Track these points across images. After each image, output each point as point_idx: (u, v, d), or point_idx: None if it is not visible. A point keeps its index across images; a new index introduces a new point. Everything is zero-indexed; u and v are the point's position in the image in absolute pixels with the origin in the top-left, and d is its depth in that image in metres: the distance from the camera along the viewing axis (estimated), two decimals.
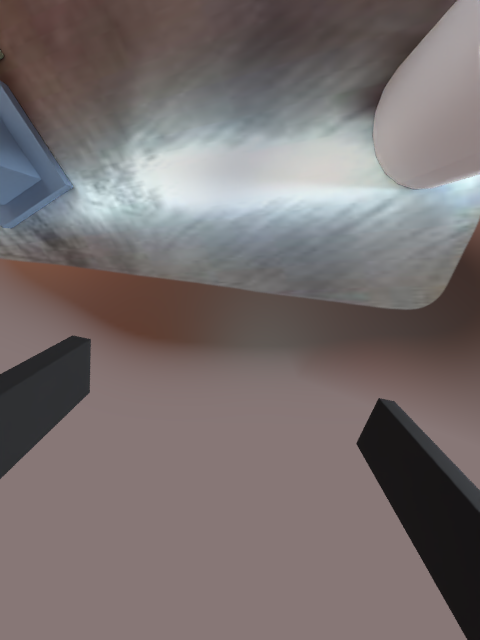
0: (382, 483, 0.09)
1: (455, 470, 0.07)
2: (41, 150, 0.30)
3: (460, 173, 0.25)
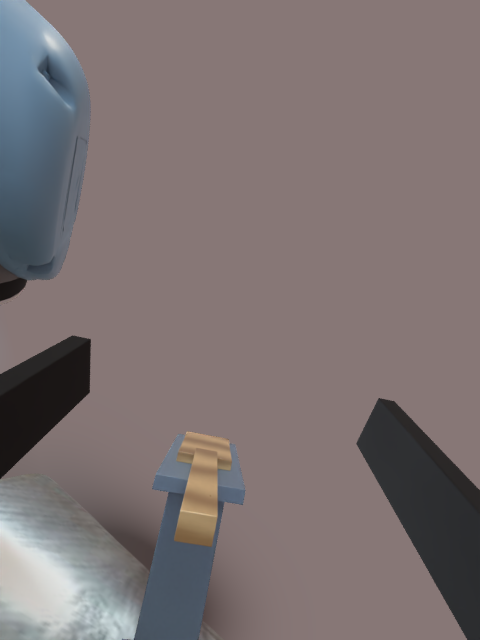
0: (382, 483, 0.09)
1: (455, 471, 0.07)
2: None
3: None
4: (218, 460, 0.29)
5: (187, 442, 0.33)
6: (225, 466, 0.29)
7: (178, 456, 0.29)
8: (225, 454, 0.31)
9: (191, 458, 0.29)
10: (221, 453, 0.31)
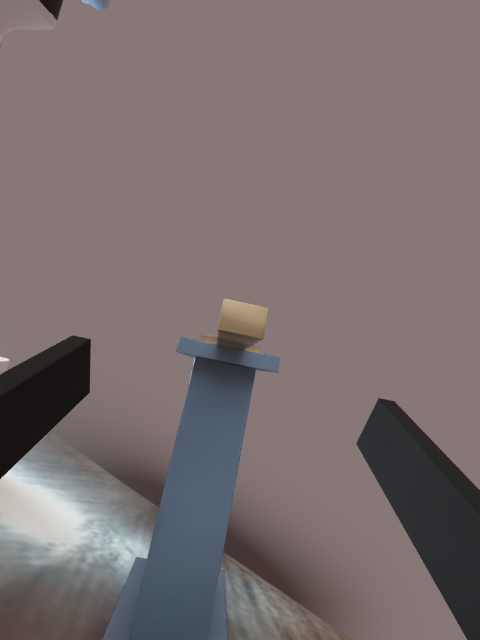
0: (383, 483, 0.09)
1: (455, 470, 0.07)
2: (124, 590, 0.26)
3: None
4: None
5: None
6: (252, 350, 0.27)
7: (201, 338, 0.26)
8: None
9: (215, 341, 0.26)
10: None
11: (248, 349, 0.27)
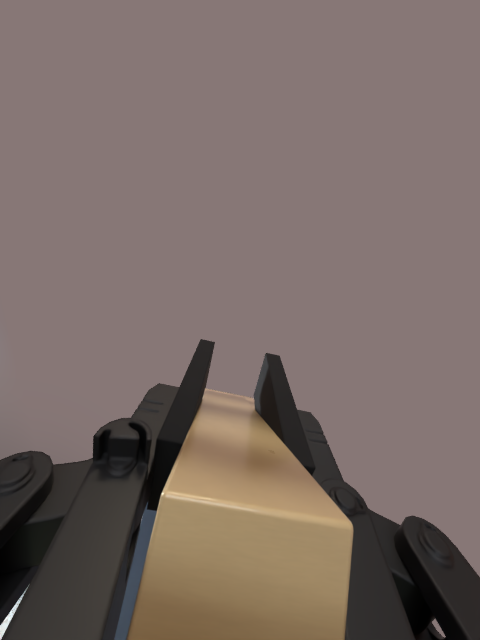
0: None
1: (286, 394, 0.09)
2: None
3: None
4: None
5: None
6: None
7: None
8: None
9: None
10: None
11: None
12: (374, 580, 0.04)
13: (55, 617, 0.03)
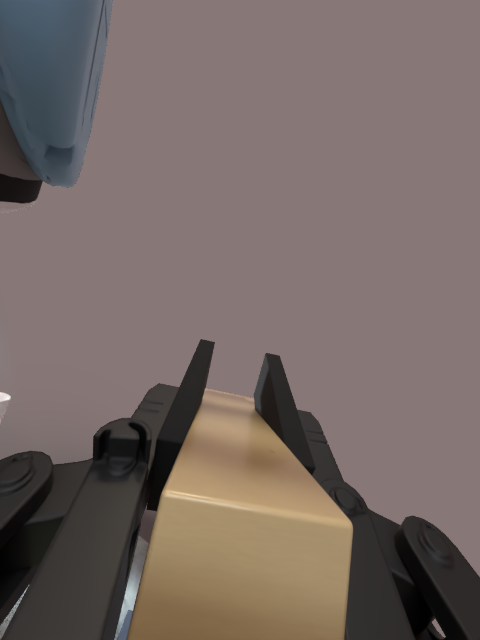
0: None
1: (286, 394, 0.09)
2: None
3: None
4: None
5: None
6: None
7: None
8: None
9: None
10: None
11: None
12: (374, 580, 0.04)
13: (55, 617, 0.03)
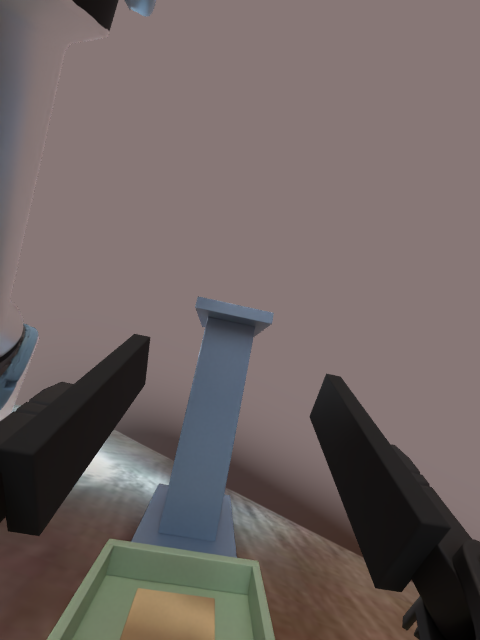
0: (323, 446, 0.10)
1: (372, 427, 0.08)
2: (153, 499, 0.34)
3: None
4: None
5: None
6: None
7: None
8: None
9: None
10: None
11: None
12: None
13: None
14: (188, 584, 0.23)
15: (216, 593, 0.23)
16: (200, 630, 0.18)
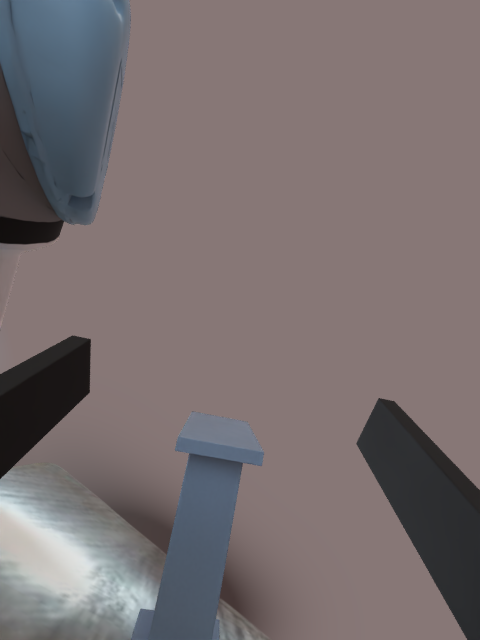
0: (382, 483, 0.09)
1: (455, 470, 0.07)
2: None
3: None
4: None
5: None
6: None
7: None
8: None
9: None
10: None
11: None
12: None
13: None
14: None
15: None
16: None
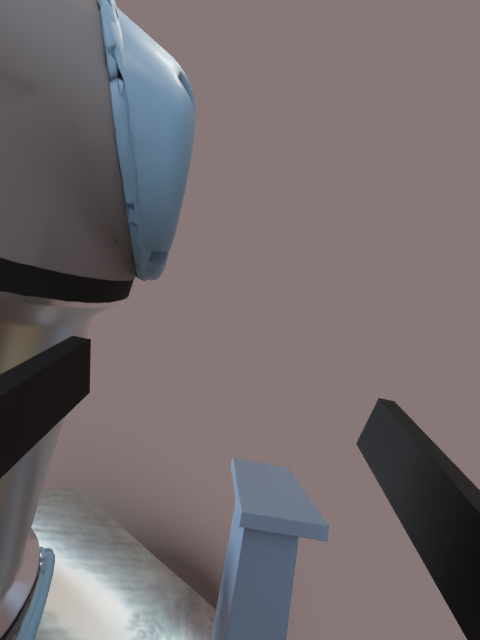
0: (383, 483, 0.09)
1: (455, 471, 0.07)
2: None
3: None
4: None
5: None
6: None
7: None
8: None
9: None
10: None
11: None
12: None
13: None
14: None
15: None
16: None
